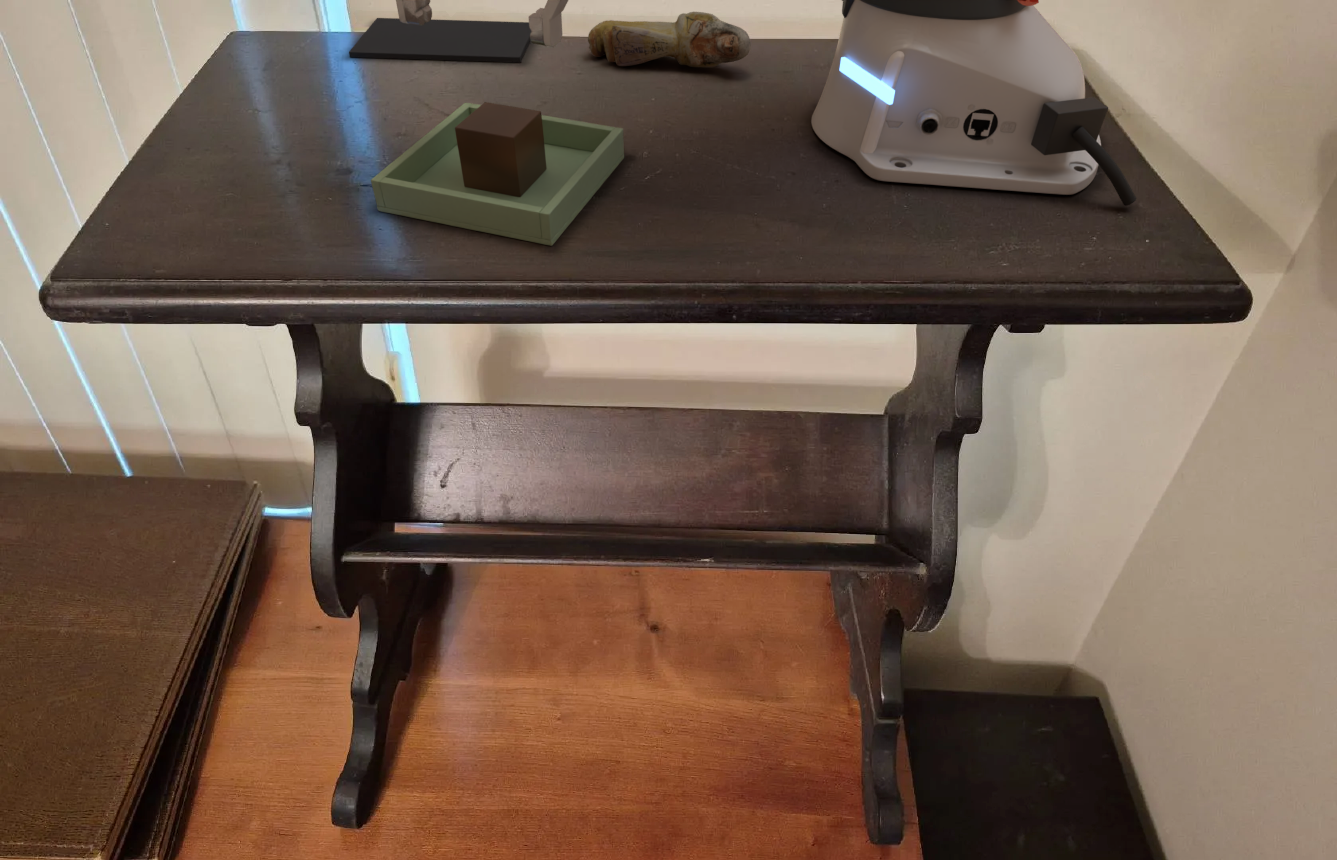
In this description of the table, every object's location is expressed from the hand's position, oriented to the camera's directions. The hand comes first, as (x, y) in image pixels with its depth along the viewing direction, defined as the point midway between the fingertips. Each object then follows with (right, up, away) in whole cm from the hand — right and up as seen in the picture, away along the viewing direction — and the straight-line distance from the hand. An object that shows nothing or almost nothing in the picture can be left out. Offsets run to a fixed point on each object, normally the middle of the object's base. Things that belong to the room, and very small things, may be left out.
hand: (480, 32), depth 57 cm
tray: (0, -8, +8) cm, 11 cm away
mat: (-9, +12, +27) cm, 31 cm away
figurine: (+12, +8, +24) cm, 28 cm away
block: (0, -7, +7) cm, 10 cm away
